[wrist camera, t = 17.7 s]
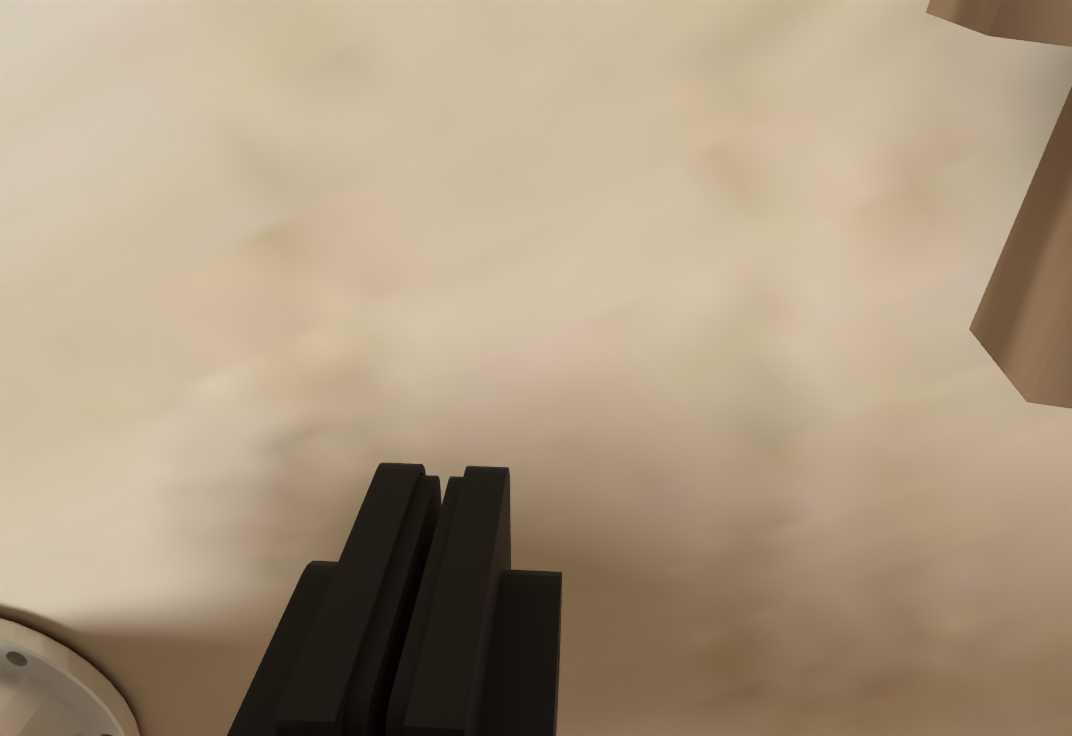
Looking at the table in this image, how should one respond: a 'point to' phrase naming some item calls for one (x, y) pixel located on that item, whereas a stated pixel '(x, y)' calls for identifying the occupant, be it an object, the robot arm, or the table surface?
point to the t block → (1031, 226)
